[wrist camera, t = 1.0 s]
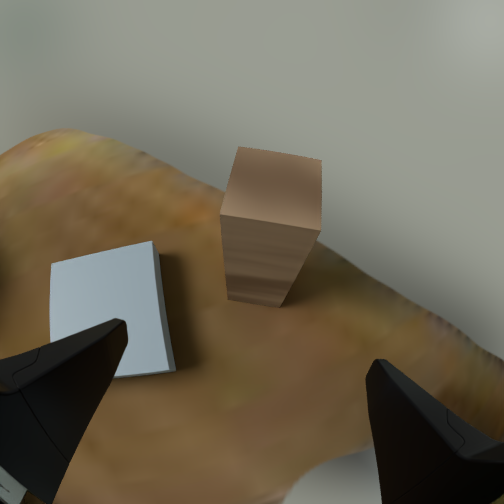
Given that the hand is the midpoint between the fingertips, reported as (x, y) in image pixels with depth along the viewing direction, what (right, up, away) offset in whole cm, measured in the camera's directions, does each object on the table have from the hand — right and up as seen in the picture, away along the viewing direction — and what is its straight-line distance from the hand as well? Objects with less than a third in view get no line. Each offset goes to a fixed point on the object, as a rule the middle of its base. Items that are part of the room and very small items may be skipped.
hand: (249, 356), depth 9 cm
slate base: (-13, -3, +13) cm, 19 cm away
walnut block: (+1, +1, +16) cm, 16 cm away
